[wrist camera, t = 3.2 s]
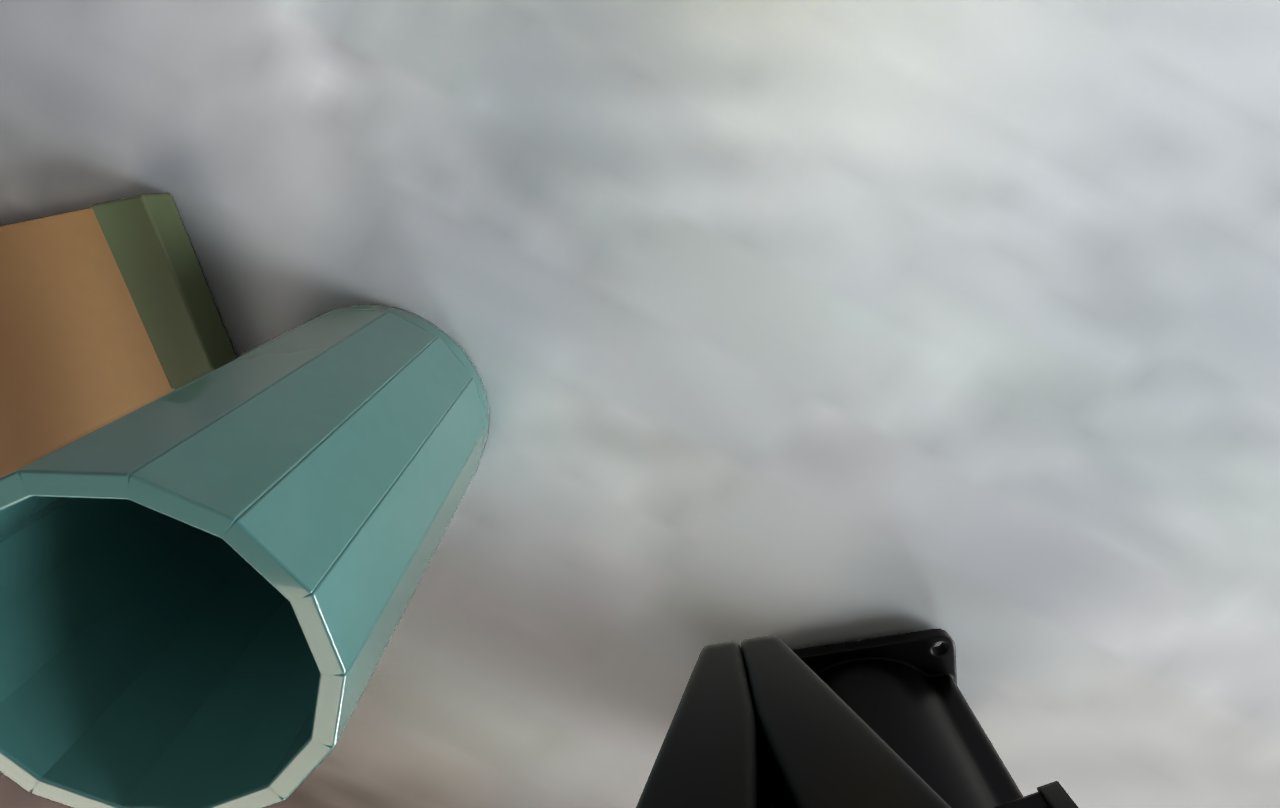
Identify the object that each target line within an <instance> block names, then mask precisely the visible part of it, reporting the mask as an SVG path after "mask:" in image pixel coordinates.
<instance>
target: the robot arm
mask: <svg viewBox="0 0 1280 808" xmlns="http://www.w3.org/2000/svg"><path fill="white" fill-rule="evenodd" d="M937 643H942V644H941V645H940V646H938V647H933V646H934V645H935V644H937ZM1037 790H1038V792H1036V793H1033V794H1030V795H1027V796H1024V797H1023V795H1022V794H1021V792H1020V790H1019V789H1018V787H1017V785H1016V784H1015V782H1014V780H1013V779H1012V777H1011V775H1010V774H1009V772H1008V770H1007V769H1006V767H1005V765H1004V764H1003V762H1002V760H1001V759H1000V757H999V755H998V754H997V752H996V750H995V749H994V747H993V745H992V744H991V742H990V740H989V739H988V737H987V735H986V734H985V732H984V730H983V729H982V727H981V725H980V724H979V722H978V720H977V719H976V717H975V715H974V713H973V712H972V710H971V708H970V707H969V705H968V703H967V702H966V700H965V698H964V697H963V695H962V693H961V692H960V690H959V688H958V687H957V678H956V652H955V644H954V642H953V640H952V638H951V637H950V635H949V634H948V633H947V632H946V631H944V630H942V629H930V630H924V631H917V632H910V633H904V634H897V635H891V636H884V637H878V638H871V639H865V640H858V641H851V642H845V643H838V644H832V645H825V646H819V647H812V648H805V649H799V650H791V649H790V648H789V647H788V646H787V645H786V644H785V643H784V642H783V641H782V640H781V639H780V638H779V637H777V636H775V635H769V636H763V637H756V638H750V639H745V640H744V641H743V642H742V644H741V647H740V645H739V643H738V642H735V641H731V642H724V643H718V644H711V645H707V646H705V647H704V648H703V649H702V651H701V653H700V655H699V657H698V660H697V662H696V665H695V667H694V669H693V672H692V674H691V677H690V679H689V681H688V684H687V686H686V689H685V691H684V693H683V696H682V698H681V701H680V703H679V706H678V708H677V710H676V713H675V715H674V718H673V720H672V722H671V725H670V727H669V730H668V732H667V734H666V737H665V739H664V742H663V744H662V747H661V749H660V751H659V754H658V756H657V759H656V761H655V763H654V766H653V768H652V771H651V773H650V775H649V778H648V780H647V783H646V785H645V787H644V790H643V792H642V795H641V797H640V800H639V802H638V804H637V807H636V808H1078V807H1077V805H1076V804H1075V803H1074V801H1073V800H1072V799H1071V798H1070V796H1069V795H1068V794H1067V793H1066V791H1065V790H1064V789H1063V787H1062V786H1061V785H1060V784H1059V782H1058V781H1055V782H1052V783H1049V784H1046V785H1044V786H1041V787H1038V788H1037Z"/></svg>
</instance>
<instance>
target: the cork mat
mask: <svg viewBox="0 0 1280 808" xmlns="http://www.w3.org/2000/svg"><path fill="white" fill-rule="evenodd" d="M234 357H236V356H235V353H234V351H233V348H232V346H231V343H230V341H229V338H228V336H227V333H226V331H225V328H224V326H223V323H222V321H221V318H220V316H219V313H218V311H217V308H216V306H215V303H214V301H213V298H212V296H211V293H210V291H209V288H208V286H207V283H206V281H205V278H204V276H203V273H202V271H201V268H200V266H199V263H198V261H197V258H196V256H195V253H194V251H193V248H192V246H191V243H190V240H189V238H188V235H187V233H186V230H185V228H184V225H183V223H182V220H181V218H180V215H179V213H178V210H177V208H176V205H175V203H174V200H173V198H172V195H171V194H170V193H157V194H145V195H137V196H133V197H128V198H123V199H118V200H113V201H108V202H103V203H98V204H95V205H93V206H92V208H87V209H82V210H77V211H72V212H67V213H62V214H57V215H52V216H47V217H42V218H38V219H33V220H28V221H23V222H18V223H13V224H8V225H3V226H0V475H1V474H3V473H5V472H7V471H9V470H11V469H13V468H14V467H16V466H18V465H20V464H22V463H24V462H26V461H28V460H30V459H32V458H34V457H36V456H38V455H40V454H42V453H44V452H46V451H48V450H50V449H52V448H54V447H56V446H58V445H60V444H62V443H64V442H66V441H68V440H70V439H72V438H74V437H76V436H78V435H80V434H82V433H84V432H86V431H88V430H90V429H92V428H94V427H96V426H98V425H100V424H102V423H104V422H106V421H108V420H110V419H112V418H114V417H116V416H118V415H120V414H122V413H124V412H126V411H128V410H130V409H132V408H134V407H136V406H138V405H140V404H142V403H144V402H146V401H148V400H150V399H152V398H154V397H156V396H158V395H160V394H162V393H164V392H166V391H168V390H170V389H172V388H174V387H176V386H178V385H180V384H182V383H184V382H186V381H188V380H190V379H192V378H194V377H196V376H198V375H200V374H202V373H204V372H206V371H208V370H210V369H212V368H214V367H216V366H218V365H220V364H222V363H224V362H226V361H228V360H230V359H232V358H234Z"/></svg>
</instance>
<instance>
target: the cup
mask: <svg viewBox="0 0 1280 808" xmlns="http://www.w3.org/2000/svg"><path fill="white" fill-rule="evenodd" d="M488 431H489V406H488V401H487V397H486V392H485V389H484V386H483V384H482V381H481V378H480V376H479V374H478V372H477V370H476V368H475V366H474V365H473V364H472V362H471V361H470V359H469V358H468V356H467V355H466V353H465V352H464V351H463V350H462V349H461V348H460V346H459V345H458V344H457V343H456V342H455V341H454V340H453V339H451V338H450V337H449V336H448V335H447V334H446V333H445V332H443V331H442V330H440V329H439V328H438V327H436V326H435V325H433V324H432V323H430V322H428V321H426V320H424V319H423V318H421V317H419V316H416V315H414V314H411V313H409V312H406V311H403V310H400V309H396V308H392V307H386V306H379V305H355V306H346V307H342V308H338V309H335V310H331V311H329V312H326V313H324V314H322V315H319V316H317V317H315V318H313V319H311V320H309V321H307V322H305V323H303V324H301V325H298V326H296V327H294V328H292V329H290V330H288V331H286V332H284V333H282V334H280V335H278V336H276V337H274V338H272V339H270V340H268V341H266V342H264V343H262V344H260V345H258V346H256V347H254V348H252V349H250V350H248V351H246V352H244V353H242V354H240V355H238V356H236V357H234V358H232V359H230V360H228V361H226V362H224V363H222V364H220V365H218V366H216V367H214V368H212V369H210V370H208V371H206V372H204V373H202V374H200V375H198V376H196V377H194V378H192V379H190V380H188V381H186V382H184V383H182V384H180V385H178V386H176V387H174V388H172V389H170V390H168V391H166V392H164V393H162V394H160V395H158V396H156V397H154V398H152V399H150V400H148V401H146V402H144V403H142V404H140V405H138V406H136V407H134V408H132V409H130V410H128V411H126V412H124V413H122V414H120V415H118V416H116V417H114V418H112V419H110V420H108V421H106V422H104V423H102V424H100V425H98V426H96V427H94V428H92V429H90V430H88V431H86V432H84V433H82V434H80V435H78V436H76V437H74V438H72V439H70V440H68V441H66V442H64V443H62V444H60V445H58V446H56V447H54V448H52V449H50V450H48V451H46V452H44V453H42V454H40V455H38V456H36V457H34V458H32V459H30V460H28V461H26V462H24V463H22V464H20V465H18V466H16V467H14V468H13V469H11V470H9V471H7V472H5V473H3V474H1V475H0V772H1V773H3V774H4V775H5V776H7V777H8V778H10V779H11V780H12V781H14V782H15V783H16V784H18V785H19V786H21V787H22V788H23V789H25V790H26V791H28V792H31V793H32V794H34V795H37V796H40V797H43V798H46V799H48V800H51V801H54V802H57V803H60V804H63V805H66V806H69V807H72V808H265V807H268V806H270V805H273V804H276V803H279V802H282V801H284V800H285V799H287V798H288V797H289V796H290V795H291V794H292V793H293V792H294V791H295V790H296V789H297V788H298V787H299V785H300V784H301V783H302V782H303V781H304V780H305V779H306V778H307V777H308V776H309V775H310V774H311V773H312V771H313V770H314V769H315V768H316V767H317V766H318V765H319V764H320V763H321V762H322V761H323V760H324V758H325V757H326V756H327V755H328V754H329V753H330V752H331V751H332V750H333V749H334V748H335V746H336V744H337V742H338V740H339V738H340V736H341V734H342V732H343V730H344V728H345V726H346V724H347V722H348V720H349V718H350V716H351V714H352V712H353V711H354V709H355V707H356V705H357V703H358V701H359V699H360V697H361V695H362V693H363V691H364V689H365V687H366V685H367V683H368V681H369V679H370V677H371V675H372V673H373V672H374V670H375V668H376V666H377V664H378V662H379V660H380V658H381V656H382V654H383V652H384V650H385V648H386V646H387V644H388V642H389V640H390V638H391V636H392V634H393V633H394V631H395V629H396V627H397V625H398V623H399V621H400V619H401V617H402V615H403V613H404V611H405V609H406V607H407V605H408V603H409V601H410V599H411V597H412V595H413V594H414V592H415V590H416V588H417V586H418V584H419V582H420V580H421V578H422V576H423V574H424V572H425V570H426V568H427V566H428V564H429V562H430V560H431V558H432V556H433V555H434V553H435V551H436V549H437V547H438V545H439V543H440V541H441V539H442V537H443V535H444V533H445V531H446V529H447V527H448V525H449V523H450V521H451V519H452V517H453V516H454V514H455V512H456V510H457V508H458V506H459V504H460V502H461V500H462V498H463V496H464V494H465V492H466V490H467V488H468V486H469V484H470V482H471V480H472V478H473V477H474V475H475V473H476V471H477V469H478V465H479V460H480V458H481V455H482V453H483V450H484V448H485V445H486V441H487V436H488Z"/></svg>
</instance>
